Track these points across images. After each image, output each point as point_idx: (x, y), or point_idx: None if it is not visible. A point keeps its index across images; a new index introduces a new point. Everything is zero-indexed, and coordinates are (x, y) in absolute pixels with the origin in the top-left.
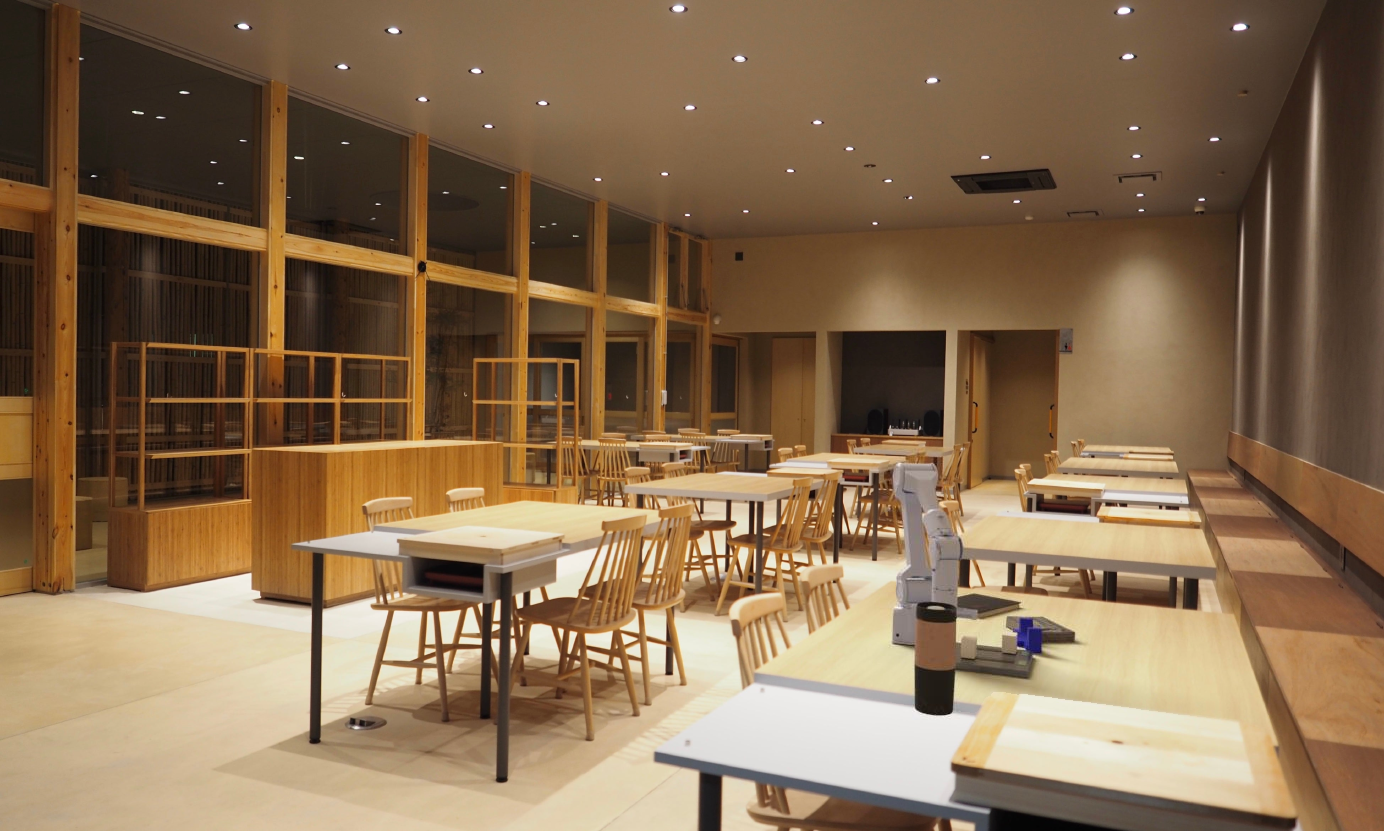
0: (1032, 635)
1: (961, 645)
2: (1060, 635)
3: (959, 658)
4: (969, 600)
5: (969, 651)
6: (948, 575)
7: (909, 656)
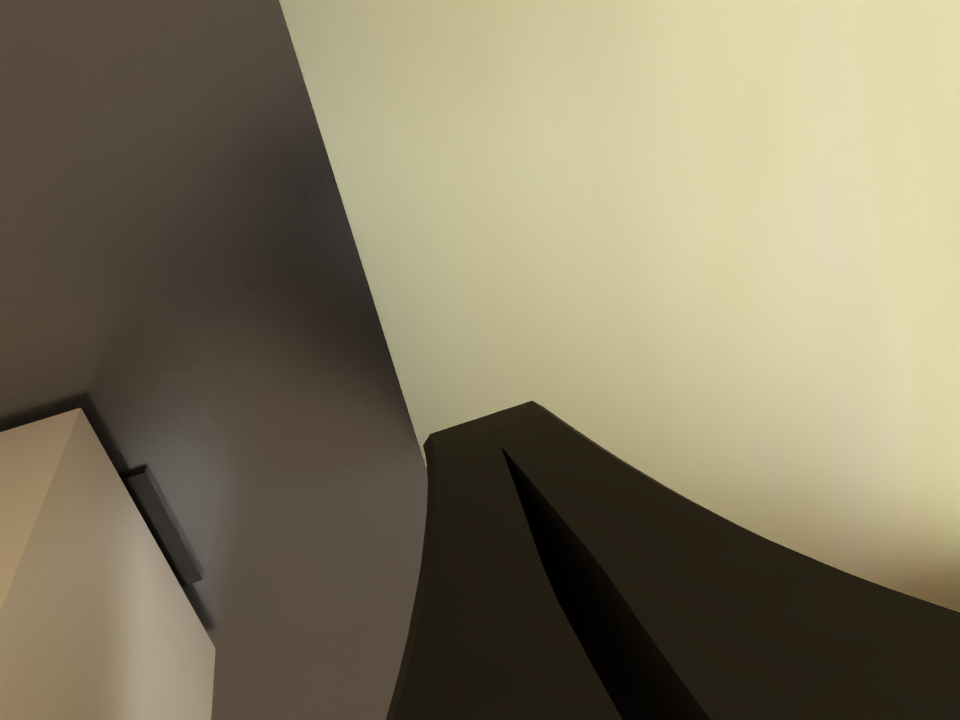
0: None
1: (3, 569)
2: None
3: (85, 362)
4: None
5: None
6: None
7: (898, 229)
